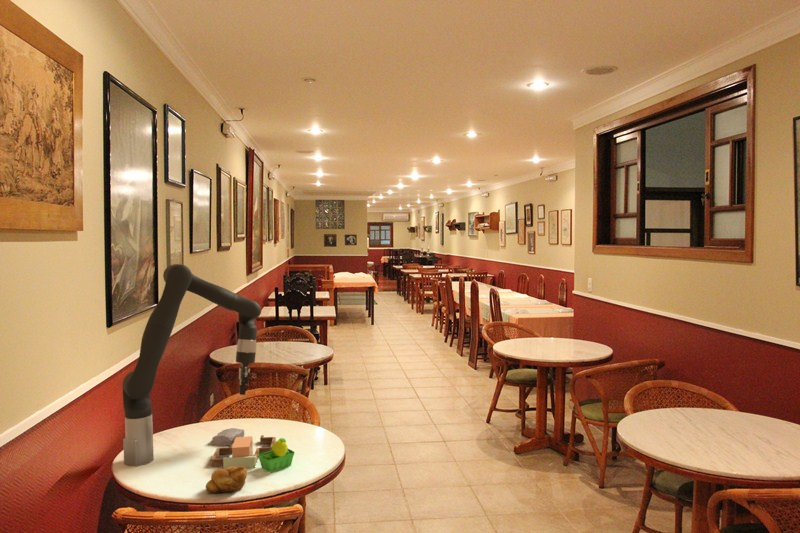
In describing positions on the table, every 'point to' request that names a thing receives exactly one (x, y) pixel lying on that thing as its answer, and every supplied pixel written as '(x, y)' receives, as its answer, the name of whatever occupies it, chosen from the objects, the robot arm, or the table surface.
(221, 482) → the bread roll
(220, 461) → the box
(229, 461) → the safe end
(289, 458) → the fruit basket
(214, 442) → the stone block
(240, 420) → the table surface
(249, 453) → the terracotta brick
